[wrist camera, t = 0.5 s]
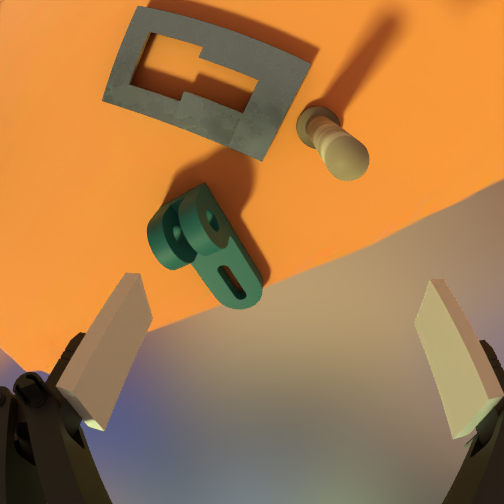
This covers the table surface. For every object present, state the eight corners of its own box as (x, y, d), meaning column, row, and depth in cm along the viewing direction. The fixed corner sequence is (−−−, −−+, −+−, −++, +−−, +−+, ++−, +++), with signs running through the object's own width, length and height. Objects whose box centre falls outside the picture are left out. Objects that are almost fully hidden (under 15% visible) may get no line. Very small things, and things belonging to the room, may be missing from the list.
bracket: (161, 205, 39) (139, 234, 32) (205, 181, 37) (189, 207, 30) (230, 304, 46) (223, 343, 40) (270, 290, 45) (269, 329, 38)
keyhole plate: (110, 99, 31) (101, 100, 29) (145, 8, 25) (137, 5, 23) (262, 156, 34) (261, 161, 32) (309, 65, 28) (311, 64, 27)
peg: (289, 135, 33) (300, 174, 20) (308, 98, 30) (333, 111, 18) (326, 154, 34) (359, 204, 21) (345, 118, 31) (393, 147, 18)
